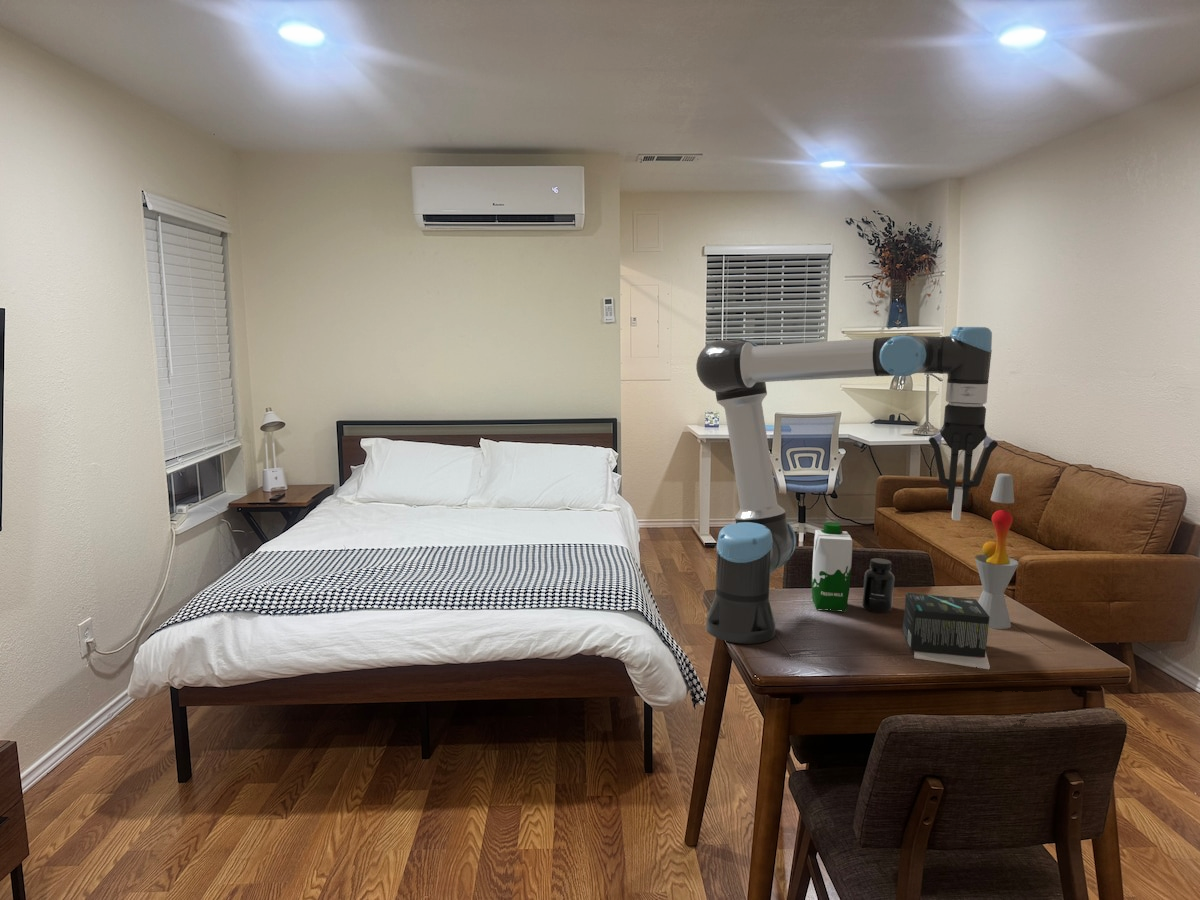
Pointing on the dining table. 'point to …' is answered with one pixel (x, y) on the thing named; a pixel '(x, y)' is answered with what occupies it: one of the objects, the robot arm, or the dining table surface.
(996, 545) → the lava lamp
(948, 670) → the dining table surface
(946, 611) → the tampon box
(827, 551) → the milk carton
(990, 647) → the dining table surface
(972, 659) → the mat
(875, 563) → the supplement bottle
